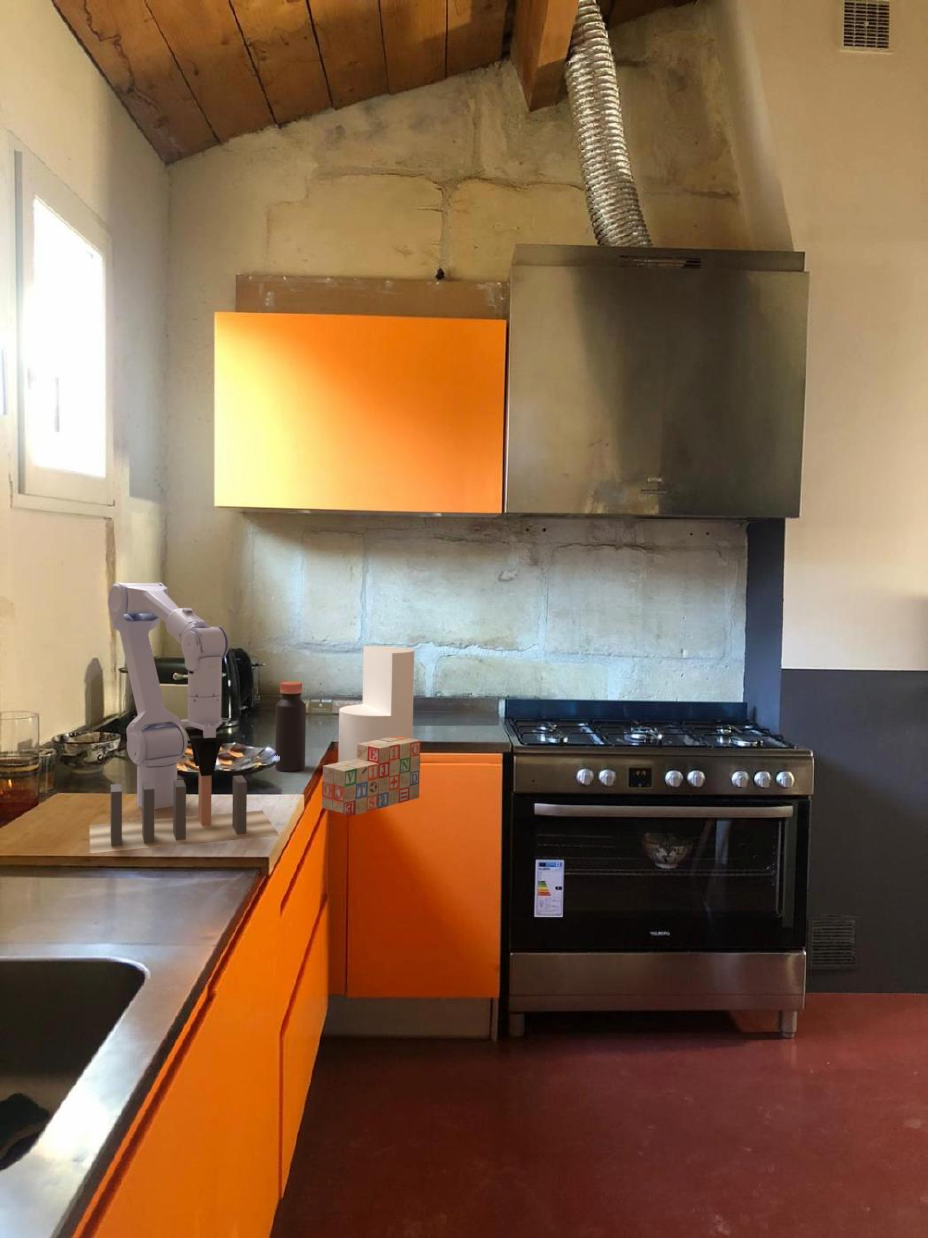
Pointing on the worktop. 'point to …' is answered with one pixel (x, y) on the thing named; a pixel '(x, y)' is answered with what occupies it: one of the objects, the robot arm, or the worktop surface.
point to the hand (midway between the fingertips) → (204, 770)
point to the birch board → (194, 832)
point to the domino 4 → (204, 800)
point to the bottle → (290, 728)
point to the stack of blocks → (373, 777)
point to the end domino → (239, 804)
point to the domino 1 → (116, 815)
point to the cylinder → (380, 700)
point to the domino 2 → (148, 812)
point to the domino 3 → (179, 809)
